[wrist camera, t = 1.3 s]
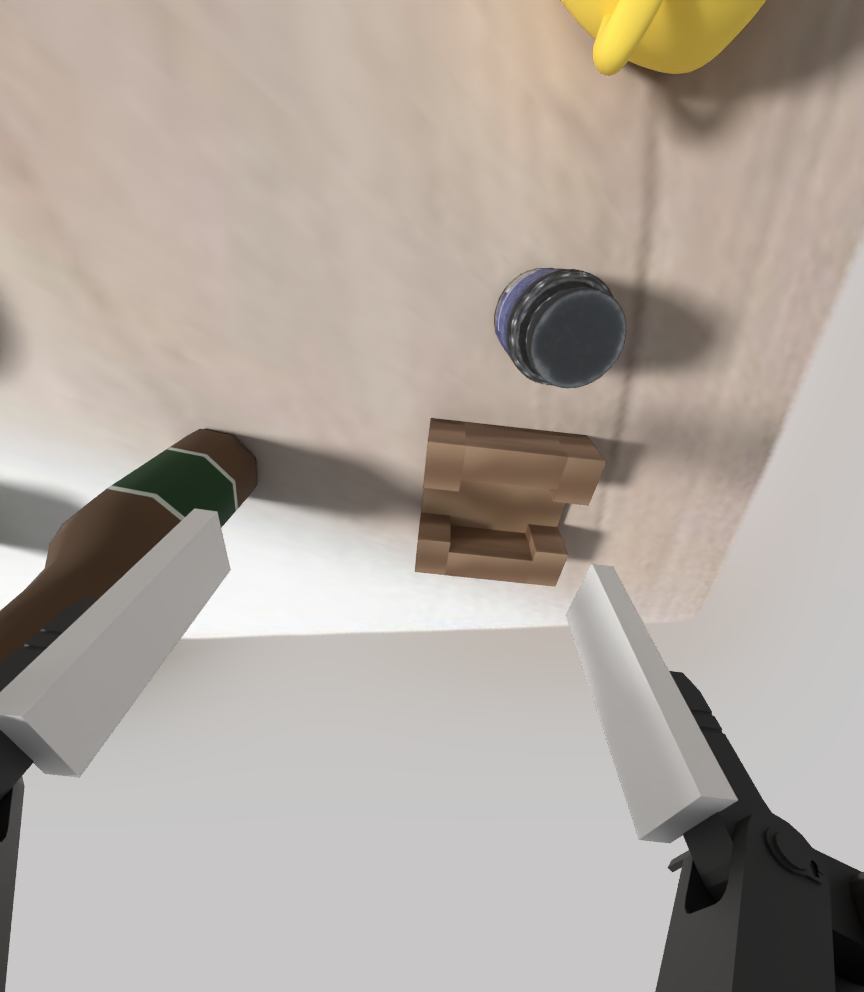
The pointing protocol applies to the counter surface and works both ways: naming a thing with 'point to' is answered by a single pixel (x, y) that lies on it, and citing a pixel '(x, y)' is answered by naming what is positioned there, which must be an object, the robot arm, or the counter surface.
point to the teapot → (660, 31)
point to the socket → (501, 500)
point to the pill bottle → (560, 326)
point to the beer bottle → (130, 527)
